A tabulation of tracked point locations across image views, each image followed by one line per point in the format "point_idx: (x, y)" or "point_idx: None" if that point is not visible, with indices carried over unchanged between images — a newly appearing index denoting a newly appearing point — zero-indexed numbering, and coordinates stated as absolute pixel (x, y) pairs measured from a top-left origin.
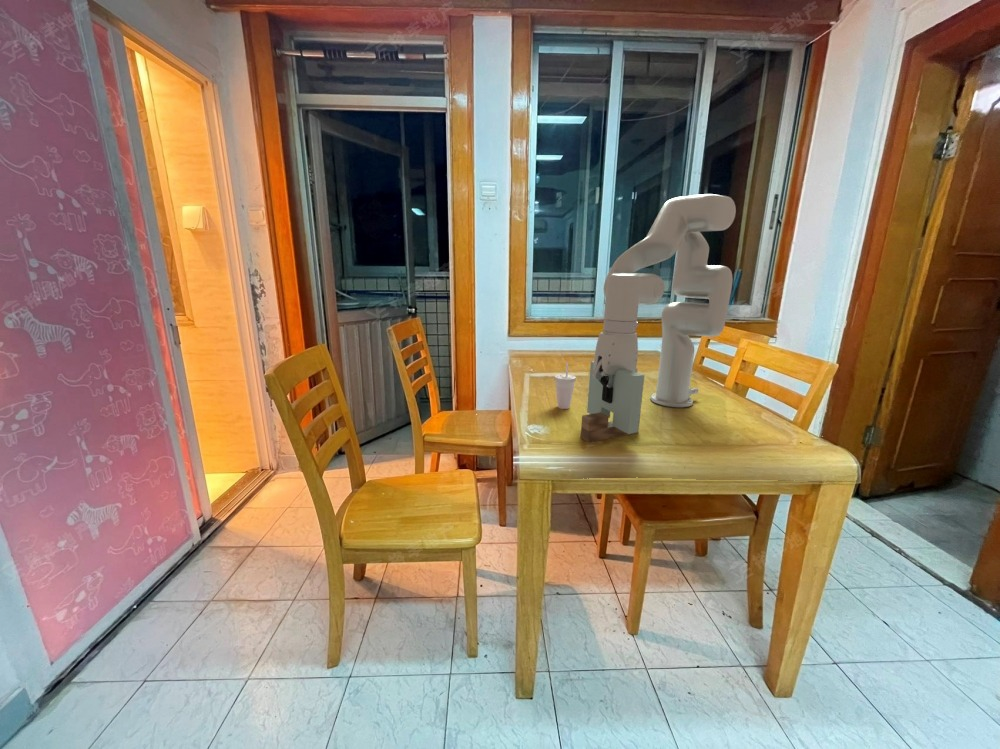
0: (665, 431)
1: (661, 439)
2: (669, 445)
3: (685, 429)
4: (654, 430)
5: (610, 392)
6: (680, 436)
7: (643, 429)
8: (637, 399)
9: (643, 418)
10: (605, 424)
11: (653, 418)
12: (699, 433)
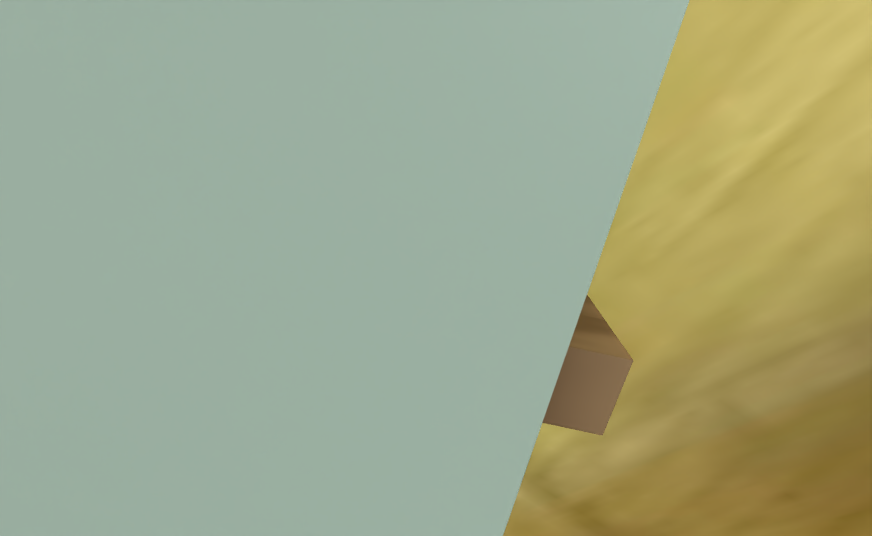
0: (694, 417)
1: (574, 451)
2: (538, 497)
3: (803, 459)
4: (663, 379)
5: None
6: (683, 483)
7: (630, 339)
8: None
9: (820, 239)
10: None
11: (868, 277)
12: (793, 515)
